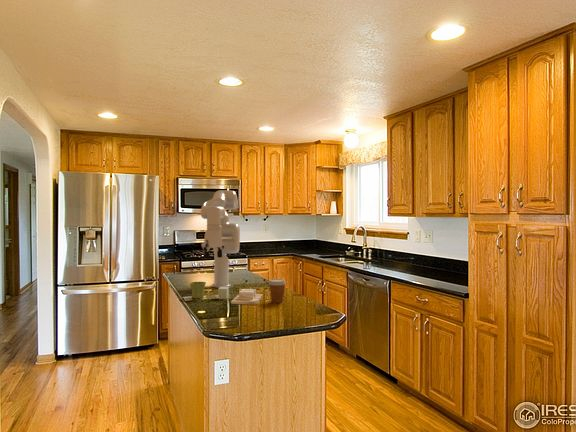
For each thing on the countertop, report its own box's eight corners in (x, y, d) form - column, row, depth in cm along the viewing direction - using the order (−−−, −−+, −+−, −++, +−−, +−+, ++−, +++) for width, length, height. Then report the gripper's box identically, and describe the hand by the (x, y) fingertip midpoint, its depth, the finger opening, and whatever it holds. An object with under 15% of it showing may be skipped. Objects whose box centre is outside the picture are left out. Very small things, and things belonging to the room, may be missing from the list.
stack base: (239, 296, 241) (239, 287, 241) (262, 296, 239) (262, 287, 239) (231, 303, 221) (231, 293, 221) (256, 304, 219) (256, 294, 219)
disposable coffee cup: (265, 300, 229) (265, 279, 229) (280, 299, 234) (281, 278, 234) (273, 304, 221) (273, 282, 221) (288, 302, 225) (288, 280, 225)
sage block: (220, 297, 238) (220, 287, 238) (228, 297, 238) (228, 287, 238) (218, 299, 233) (218, 288, 233) (226, 299, 233) (226, 288, 233)
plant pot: (186, 298, 233) (186, 283, 233) (195, 295, 242) (195, 281, 242) (200, 300, 230) (200, 284, 230) (209, 296, 239) (209, 282, 239)
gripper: (220, 227, 240) (219, 256, 240) (197, 228, 227) (197, 258, 227) (229, 227, 236) (229, 257, 236) (206, 228, 222) (206, 259, 222)
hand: (213, 258), depth 231 cm, fingers open, 9 cm apart
